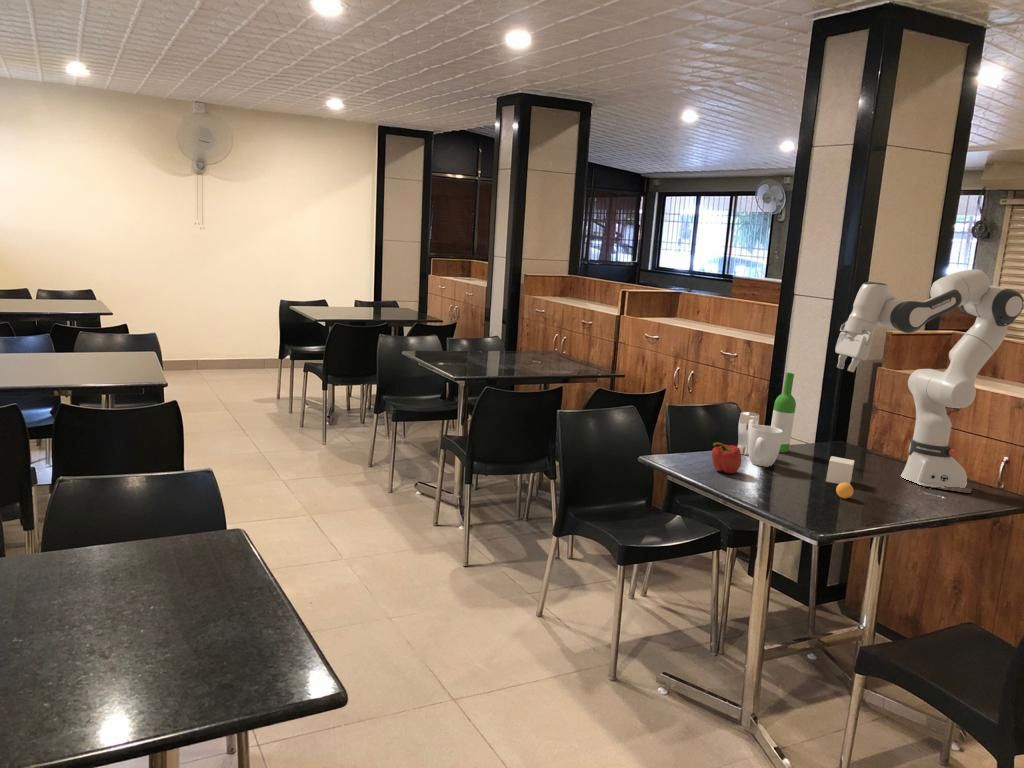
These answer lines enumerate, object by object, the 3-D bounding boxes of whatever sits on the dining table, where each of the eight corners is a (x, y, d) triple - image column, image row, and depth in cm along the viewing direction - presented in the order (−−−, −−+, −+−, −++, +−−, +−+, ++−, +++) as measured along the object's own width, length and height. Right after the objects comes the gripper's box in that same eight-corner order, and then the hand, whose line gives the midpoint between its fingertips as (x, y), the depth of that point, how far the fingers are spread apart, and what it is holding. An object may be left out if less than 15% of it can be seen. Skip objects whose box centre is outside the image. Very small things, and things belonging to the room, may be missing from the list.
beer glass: (756, 456, 300) (762, 416, 297) (737, 454, 300) (743, 414, 297) (750, 451, 307) (756, 412, 304) (732, 449, 307) (738, 410, 304)
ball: (852, 497, 259) (855, 482, 258) (851, 501, 254) (854, 486, 253) (835, 494, 261) (838, 479, 260) (834, 498, 256) (836, 482, 255)
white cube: (850, 481, 278) (854, 460, 277) (849, 486, 272) (853, 465, 270) (827, 476, 281) (831, 456, 280) (825, 481, 275) (829, 460, 273)
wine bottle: (792, 453, 310) (805, 375, 304) (774, 453, 308) (787, 374, 302) (780, 447, 317) (792, 371, 312) (763, 447, 315) (775, 370, 309)
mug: (770, 473, 278) (775, 436, 276) (738, 466, 284) (743, 429, 282) (780, 464, 291) (786, 429, 289) (749, 458, 297) (755, 423, 294)
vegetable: (716, 476, 269) (720, 446, 267) (701, 466, 279) (705, 438, 277) (745, 476, 271) (750, 447, 270) (730, 467, 281) (734, 439, 280)
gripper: (881, 334, 256) (866, 376, 258) (857, 330, 277) (843, 369, 279) (862, 328, 256) (847, 370, 258) (839, 325, 277) (825, 364, 279)
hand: (845, 370), depth 269 cm, fingers open, 8 cm apart
